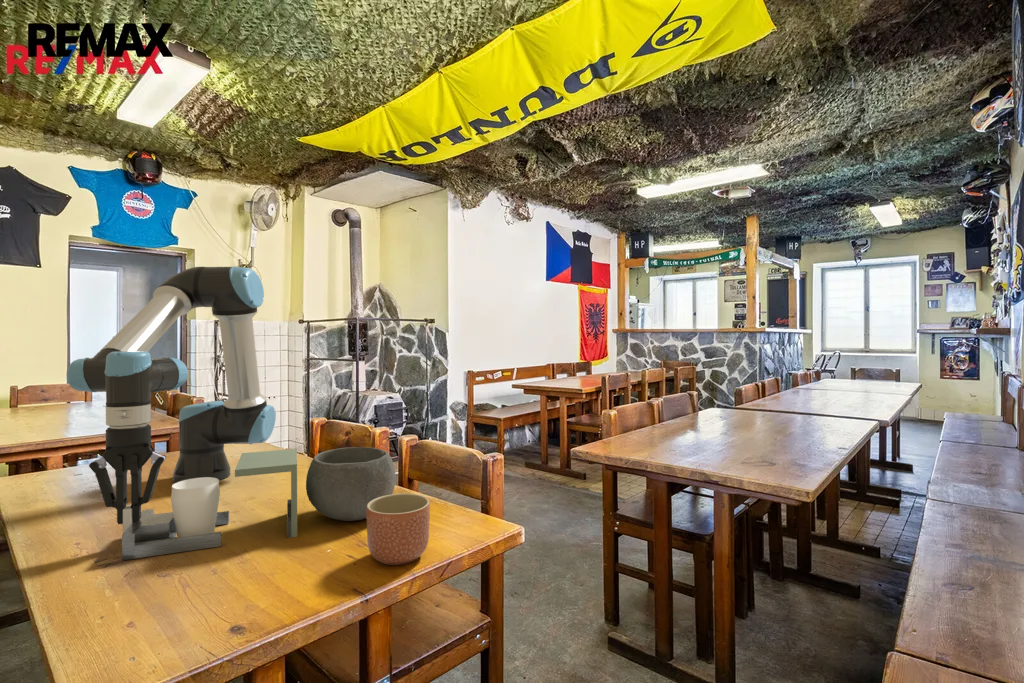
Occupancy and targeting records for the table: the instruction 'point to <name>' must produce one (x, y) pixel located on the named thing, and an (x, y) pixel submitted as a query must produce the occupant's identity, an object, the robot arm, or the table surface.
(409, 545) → the planter
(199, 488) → the cup
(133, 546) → the frame
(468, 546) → the table surface
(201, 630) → the table surface
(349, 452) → the bowl
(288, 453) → the shelf
